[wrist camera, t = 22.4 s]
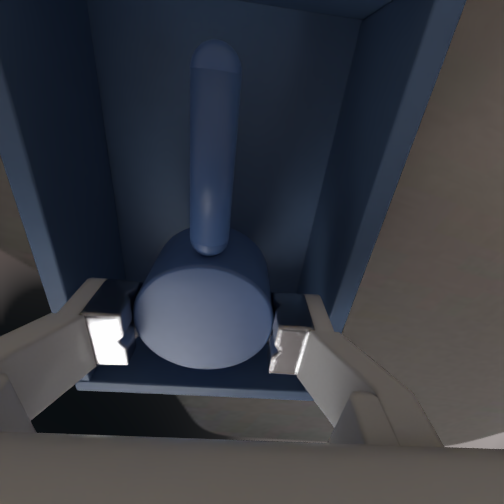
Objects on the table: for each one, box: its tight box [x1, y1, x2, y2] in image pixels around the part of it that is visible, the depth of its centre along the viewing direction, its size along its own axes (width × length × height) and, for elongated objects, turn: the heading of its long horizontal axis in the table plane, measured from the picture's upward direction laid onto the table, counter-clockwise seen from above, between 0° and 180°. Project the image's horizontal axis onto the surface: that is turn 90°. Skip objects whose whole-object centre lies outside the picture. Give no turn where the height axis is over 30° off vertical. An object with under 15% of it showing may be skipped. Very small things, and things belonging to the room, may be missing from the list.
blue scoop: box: [133, 39, 274, 369], centre depth 8 cm, size 9×4×3 cm, turn 173°
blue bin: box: [0, 0, 466, 401], centre depth 9 cm, size 13×9×5 cm
